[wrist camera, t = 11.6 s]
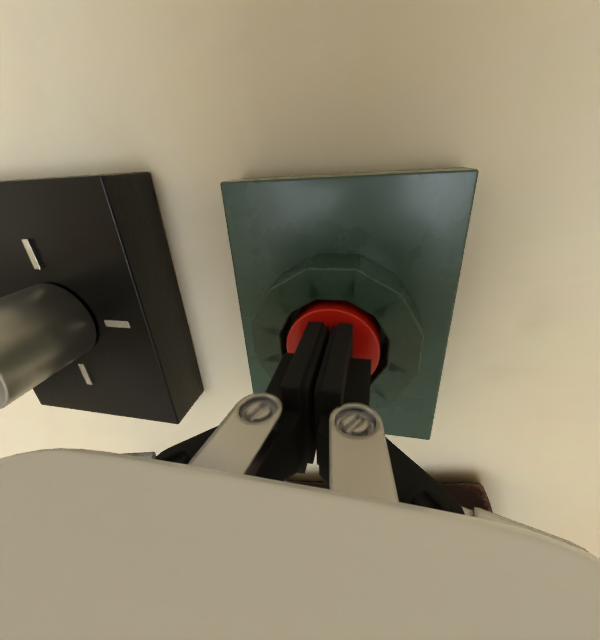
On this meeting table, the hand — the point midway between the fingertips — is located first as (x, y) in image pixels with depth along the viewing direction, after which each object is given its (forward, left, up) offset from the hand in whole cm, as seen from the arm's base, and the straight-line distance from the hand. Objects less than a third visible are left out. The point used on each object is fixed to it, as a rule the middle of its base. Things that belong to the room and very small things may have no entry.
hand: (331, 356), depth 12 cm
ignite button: (0, 0, -2) cm, 2 cm away
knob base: (0, -14, -4) cm, 15 cm away
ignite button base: (0, 0, -4) cm, 4 cm away
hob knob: (0, -14, -1) cm, 14 cm away
